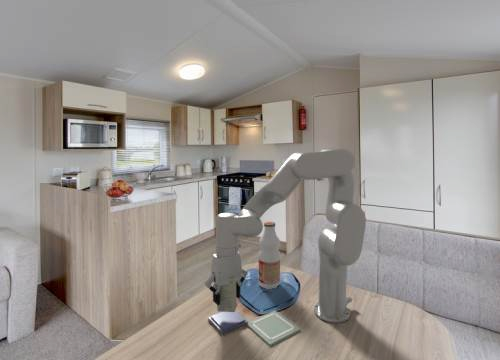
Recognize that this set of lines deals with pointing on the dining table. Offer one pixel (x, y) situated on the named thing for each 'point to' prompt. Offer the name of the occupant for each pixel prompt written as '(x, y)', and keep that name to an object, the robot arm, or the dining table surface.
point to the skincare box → (228, 297)
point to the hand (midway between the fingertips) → (226, 299)
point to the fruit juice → (269, 257)
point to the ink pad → (227, 322)
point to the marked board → (272, 327)
